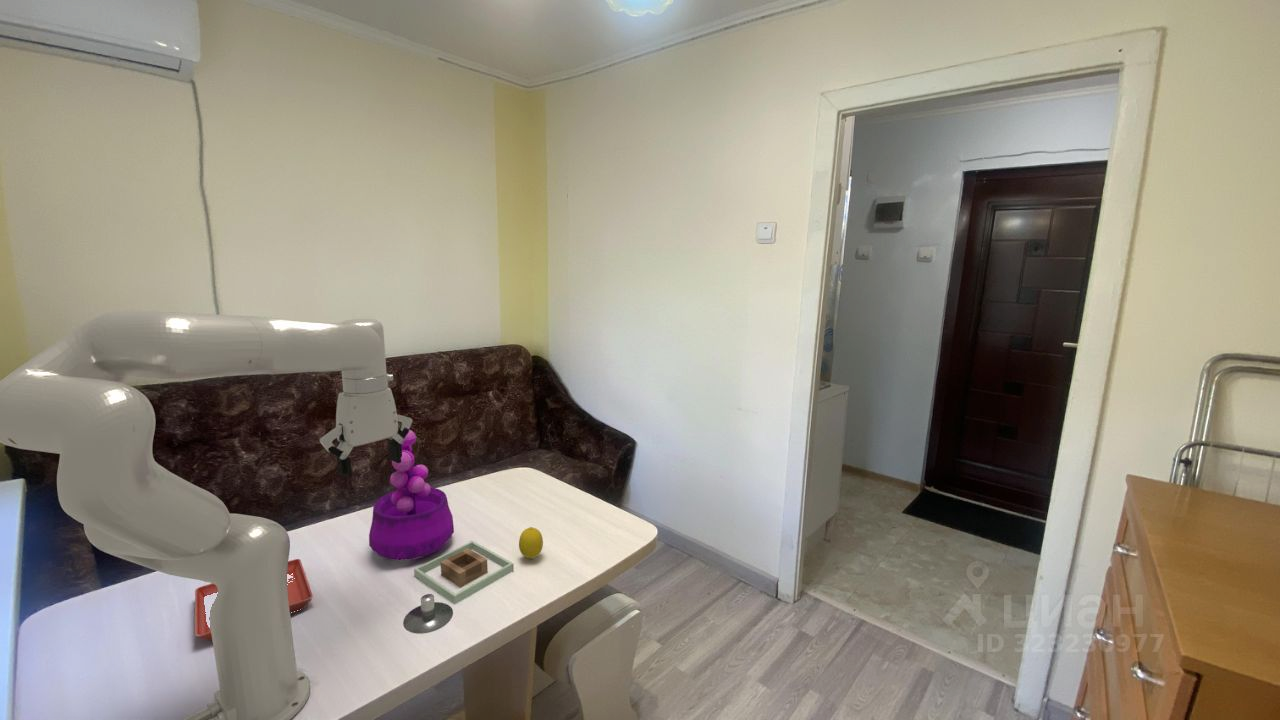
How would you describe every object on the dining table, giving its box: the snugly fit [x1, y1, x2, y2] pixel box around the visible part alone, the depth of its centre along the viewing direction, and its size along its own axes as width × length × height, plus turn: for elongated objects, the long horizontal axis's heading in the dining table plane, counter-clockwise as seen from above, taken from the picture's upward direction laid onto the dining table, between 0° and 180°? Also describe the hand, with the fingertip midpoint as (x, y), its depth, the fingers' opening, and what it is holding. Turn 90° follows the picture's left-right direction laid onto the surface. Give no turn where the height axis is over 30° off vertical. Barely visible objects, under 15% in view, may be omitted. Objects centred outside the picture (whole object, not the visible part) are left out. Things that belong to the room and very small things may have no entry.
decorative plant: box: [368, 429, 455, 561], centre depth 124 cm, size 19×18×30 cm
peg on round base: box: [402, 593, 454, 635], centre depth 102 cm, size 9×9×5 cm
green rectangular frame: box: [413, 540, 515, 605], centre depth 116 cm, size 15×15×2 cm
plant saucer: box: [194, 558, 314, 641], centre depth 105 cm, size 18×18×3 cm
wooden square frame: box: [440, 549, 489, 588], centre depth 116 cm, size 7×7×4 cm
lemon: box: [518, 526, 544, 560], centre depth 123 cm, size 6×6×8 cm
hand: (371, 468), depth 104 cm, fingers open, 9 cm apart
